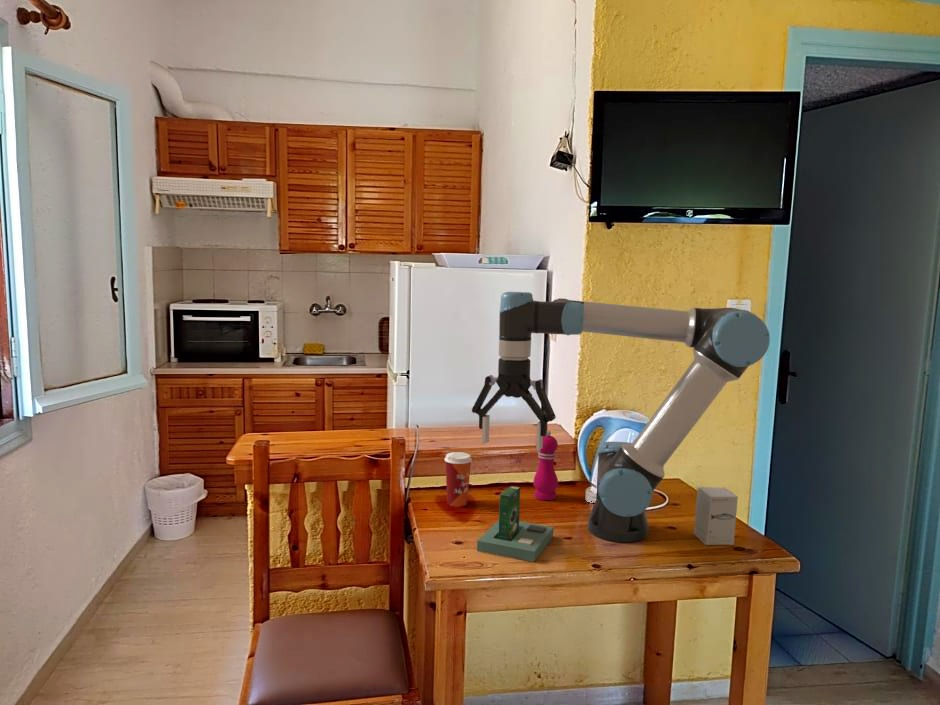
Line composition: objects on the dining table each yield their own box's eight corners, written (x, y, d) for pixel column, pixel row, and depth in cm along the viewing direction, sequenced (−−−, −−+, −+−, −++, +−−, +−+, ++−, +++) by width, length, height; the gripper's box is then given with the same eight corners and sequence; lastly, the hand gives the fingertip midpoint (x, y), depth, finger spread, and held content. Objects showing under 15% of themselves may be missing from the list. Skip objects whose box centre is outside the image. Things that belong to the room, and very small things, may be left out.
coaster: (618, 510, 187) (618, 498, 186) (582, 505, 190) (583, 493, 189) (621, 499, 196) (622, 487, 196) (587, 494, 199) (588, 483, 199)
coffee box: (508, 535, 167) (510, 484, 165) (519, 537, 166) (521, 486, 164) (497, 547, 160) (498, 494, 158) (508, 549, 159) (510, 496, 157)
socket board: (553, 536, 167) (553, 525, 166) (533, 562, 152) (534, 549, 152) (500, 527, 172) (500, 516, 172) (477, 550, 157) (477, 538, 157)
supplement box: (705, 546, 163) (709, 496, 162) (693, 534, 171) (696, 486, 169) (734, 545, 164) (738, 496, 162) (721, 533, 171) (724, 486, 170)
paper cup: (461, 510, 183) (462, 460, 182) (438, 504, 187) (439, 456, 186) (476, 502, 190) (477, 454, 188) (453, 496, 194) (454, 449, 192)
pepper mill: (539, 502, 191) (542, 434, 188) (528, 494, 197) (530, 428, 195) (562, 500, 193) (565, 432, 191) (550, 492, 200) (552, 426, 197)
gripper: (570, 359, 156) (566, 448, 158) (471, 352, 165) (469, 436, 168) (562, 363, 149) (558, 456, 152) (459, 355, 158) (457, 443, 161)
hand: (511, 445), depth 160 cm, fingers open, 13 cm apart
